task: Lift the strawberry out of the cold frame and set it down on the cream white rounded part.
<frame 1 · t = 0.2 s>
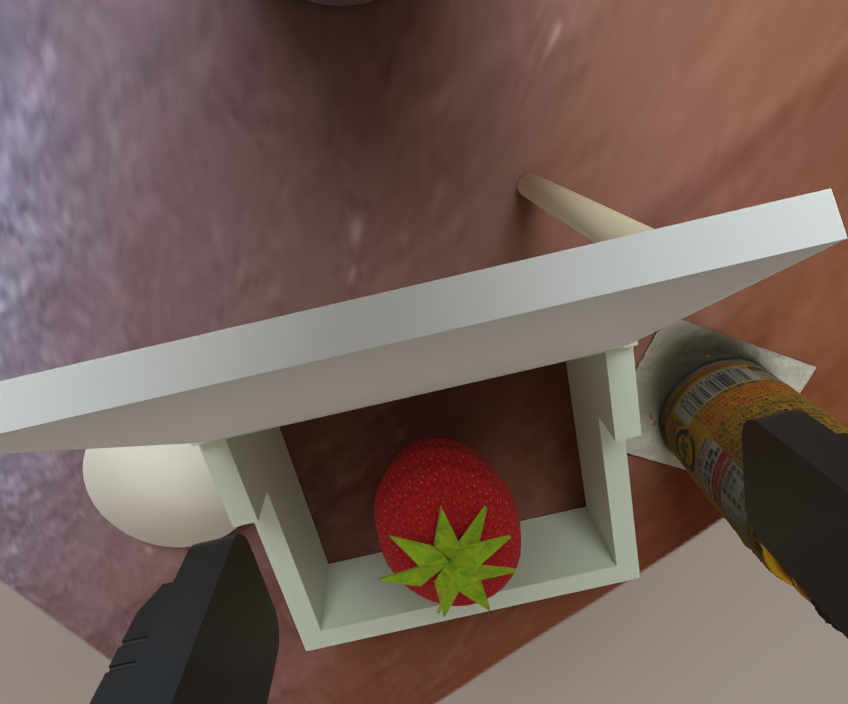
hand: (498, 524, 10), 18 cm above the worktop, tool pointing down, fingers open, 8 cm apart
cold frame: (433, 439, 30), on the worktop
condiment: (701, 402, 31), on the worktop
cream white rounded part: (176, 470, 30), on the worktop
strawberry: (436, 454, 31), on the worktop
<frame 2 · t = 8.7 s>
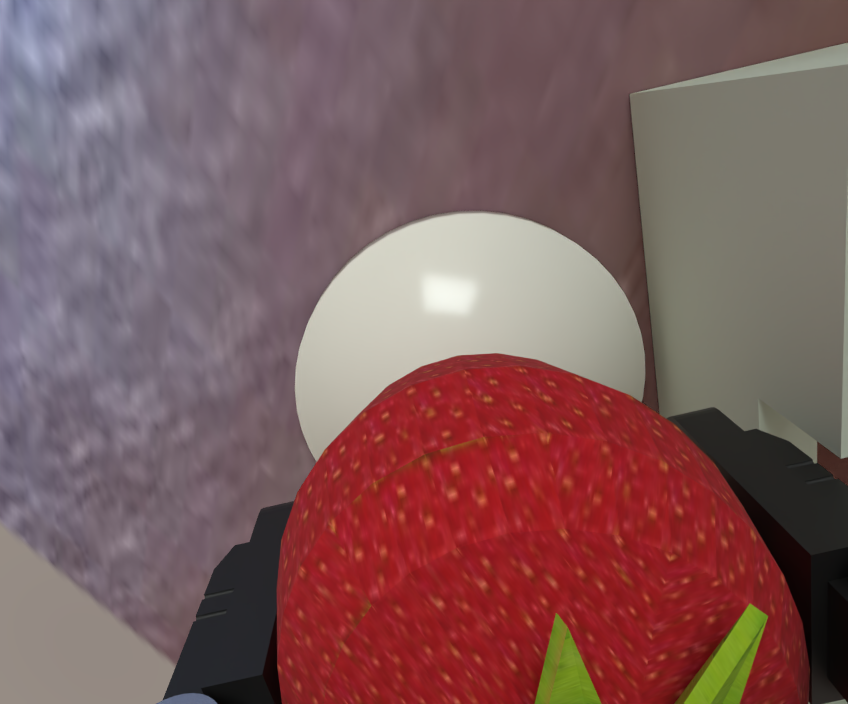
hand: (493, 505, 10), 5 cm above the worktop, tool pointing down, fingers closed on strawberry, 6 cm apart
cream white rounded part: (467, 379, 15), on the worktop
strawberry: (473, 434, 13), point 2 cm above the worktop, touching gripper
when the fingers open (5 cm above the worktop, at t = 9.3 s): strawberry drops 1 cm, resting on cream white rounded part.
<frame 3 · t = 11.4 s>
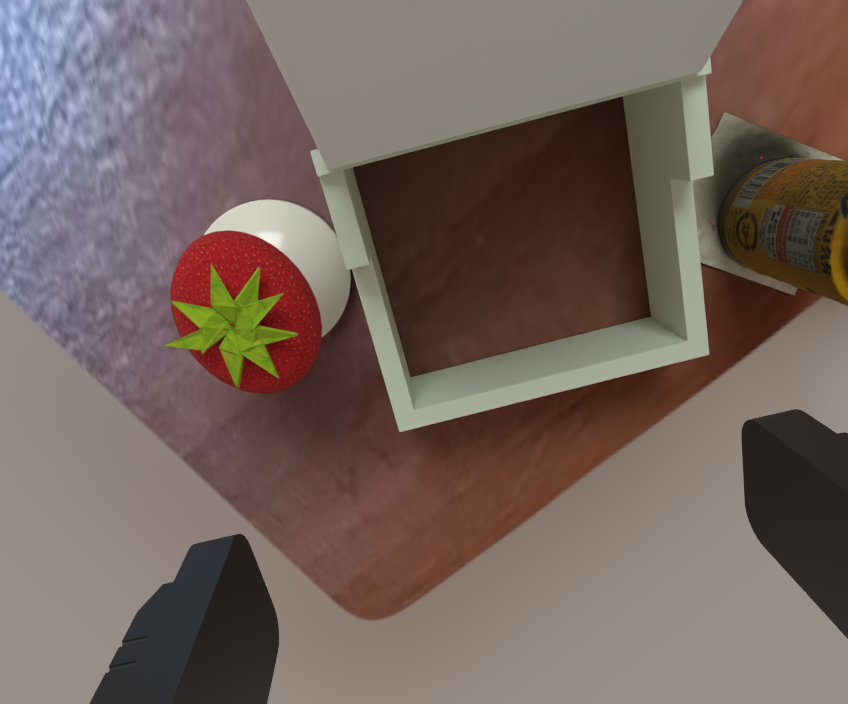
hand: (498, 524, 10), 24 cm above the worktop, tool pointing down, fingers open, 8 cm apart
cold frame: (509, 244, 33), on the worktop
condiment: (756, 207, 33), on the worktop
cream white rounded part: (275, 276, 33), on the worktop
strawberry: (269, 284, 32), point 1 cm above the worktop, touching cream white rounded part
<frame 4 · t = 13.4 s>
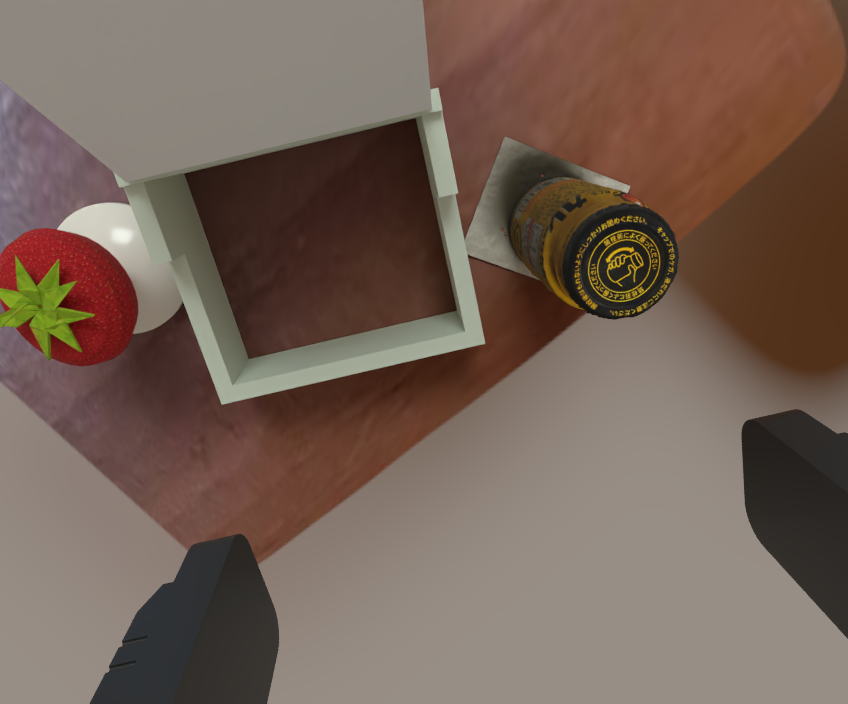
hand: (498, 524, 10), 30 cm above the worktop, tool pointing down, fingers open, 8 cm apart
cold frame: (327, 245, 38), on the worktop
condiment: (543, 218, 39), on the worktop
cream white rounded part: (123, 268, 38), on the worktop
strawberry: (116, 275, 37), point 1 cm above the worktop, touching cream white rounded part
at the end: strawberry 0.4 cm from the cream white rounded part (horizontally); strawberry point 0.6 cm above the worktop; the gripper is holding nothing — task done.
